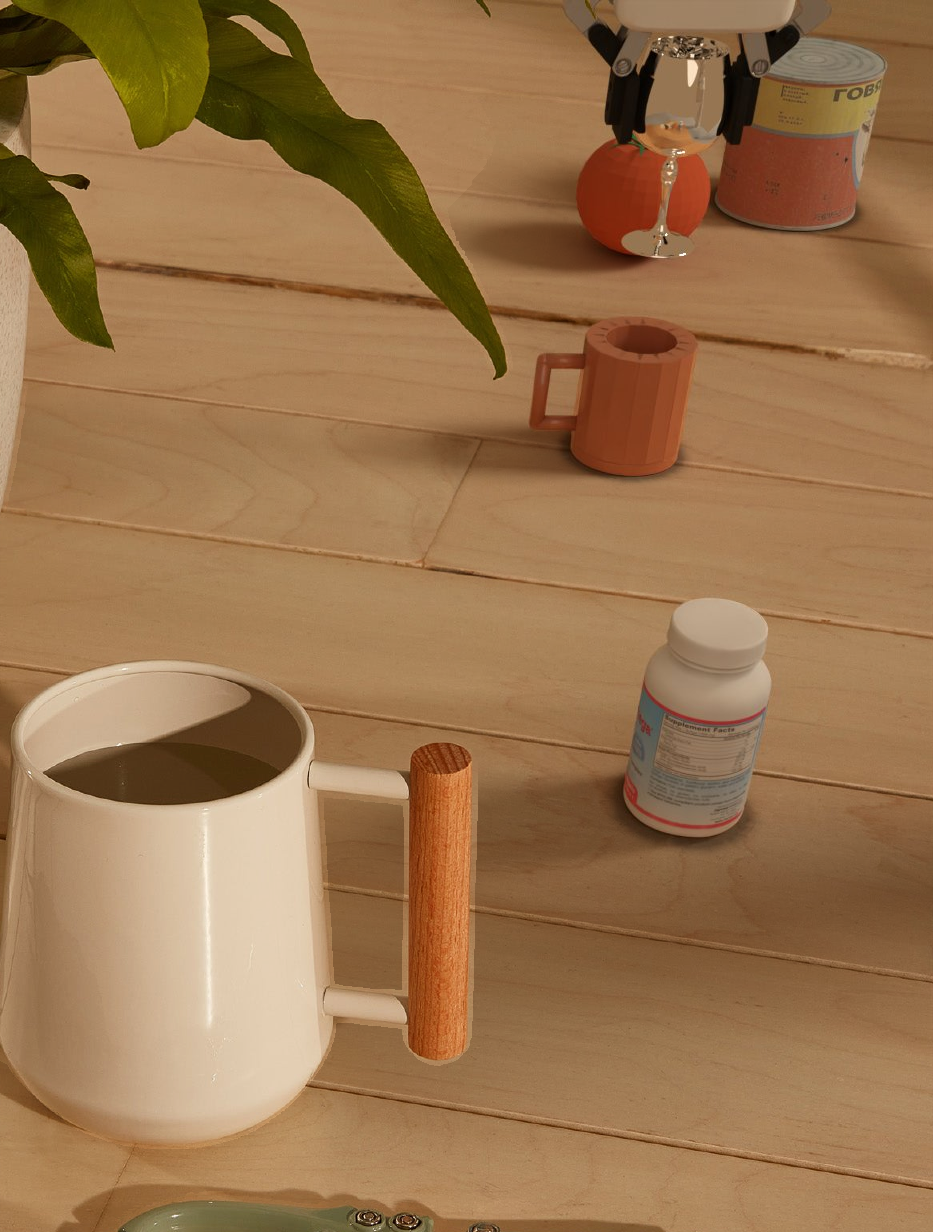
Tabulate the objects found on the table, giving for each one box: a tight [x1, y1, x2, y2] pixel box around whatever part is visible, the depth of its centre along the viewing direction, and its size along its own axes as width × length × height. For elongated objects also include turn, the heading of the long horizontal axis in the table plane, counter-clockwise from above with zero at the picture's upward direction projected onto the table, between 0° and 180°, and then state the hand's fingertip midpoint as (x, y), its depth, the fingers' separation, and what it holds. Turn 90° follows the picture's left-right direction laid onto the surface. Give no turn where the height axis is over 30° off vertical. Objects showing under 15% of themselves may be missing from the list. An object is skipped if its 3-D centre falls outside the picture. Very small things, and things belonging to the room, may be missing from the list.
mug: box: [528, 315, 699, 477], centre depth 134 cm, size 10×7×8 cm
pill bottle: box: [622, 597, 772, 838], centre depth 102 cm, size 6×6×11 cm
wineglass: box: [621, 34, 732, 259], centre depth 123 cm, size 6×6×12 cm
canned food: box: [714, 36, 888, 232], centre depth 166 cm, size 11×11×12 cm
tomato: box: [575, 133, 711, 256], centre depth 159 cm, size 10×10×10 cm
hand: (675, 134), depth 123 cm, fingers closed on wineglass, 5 cm apart
